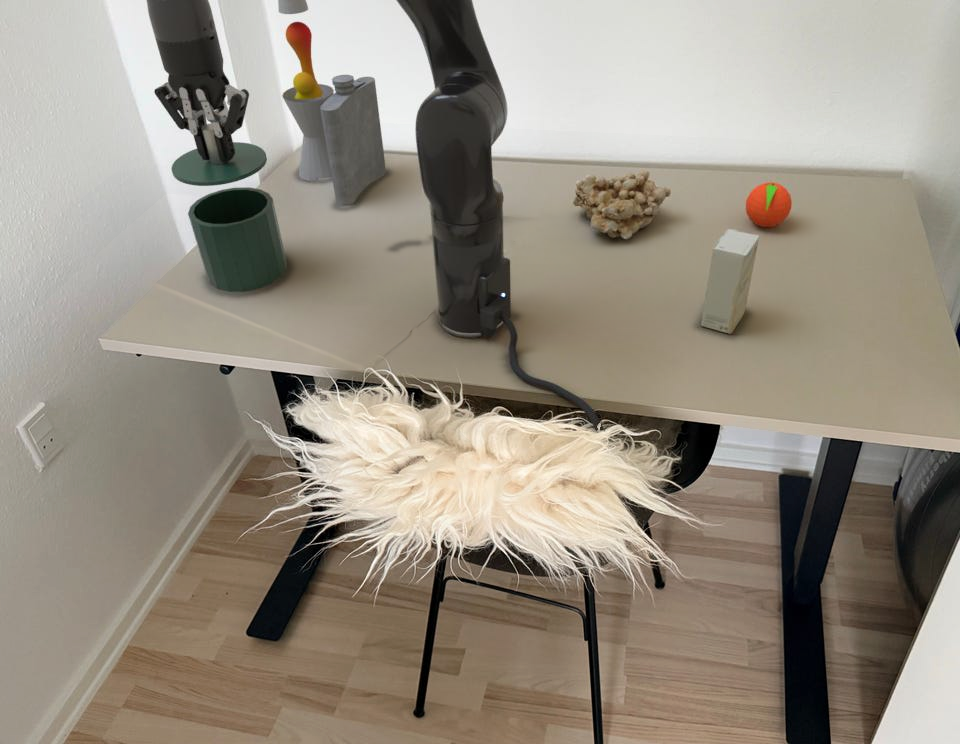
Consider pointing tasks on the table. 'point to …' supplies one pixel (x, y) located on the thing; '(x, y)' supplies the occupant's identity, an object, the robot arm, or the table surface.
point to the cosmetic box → (729, 280)
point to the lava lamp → (306, 98)
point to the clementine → (768, 204)
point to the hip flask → (353, 136)
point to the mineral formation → (620, 202)
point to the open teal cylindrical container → (238, 238)
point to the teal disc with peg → (218, 163)
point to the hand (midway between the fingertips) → (218, 158)
